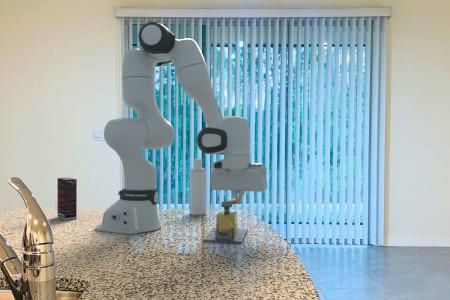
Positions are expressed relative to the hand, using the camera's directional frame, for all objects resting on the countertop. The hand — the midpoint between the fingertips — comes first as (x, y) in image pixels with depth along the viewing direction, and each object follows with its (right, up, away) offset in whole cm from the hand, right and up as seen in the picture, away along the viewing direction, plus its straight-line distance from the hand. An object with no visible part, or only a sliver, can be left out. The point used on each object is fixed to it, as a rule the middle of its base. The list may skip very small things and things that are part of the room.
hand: (238, 203), depth 132 cm
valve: (-4, -10, -5) cm, 12 cm away
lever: (-3, 0, -2) cm, 3 cm away
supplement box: (-68, -9, +22) cm, 72 cm away
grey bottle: (-16, -9, +33) cm, 38 cm away
